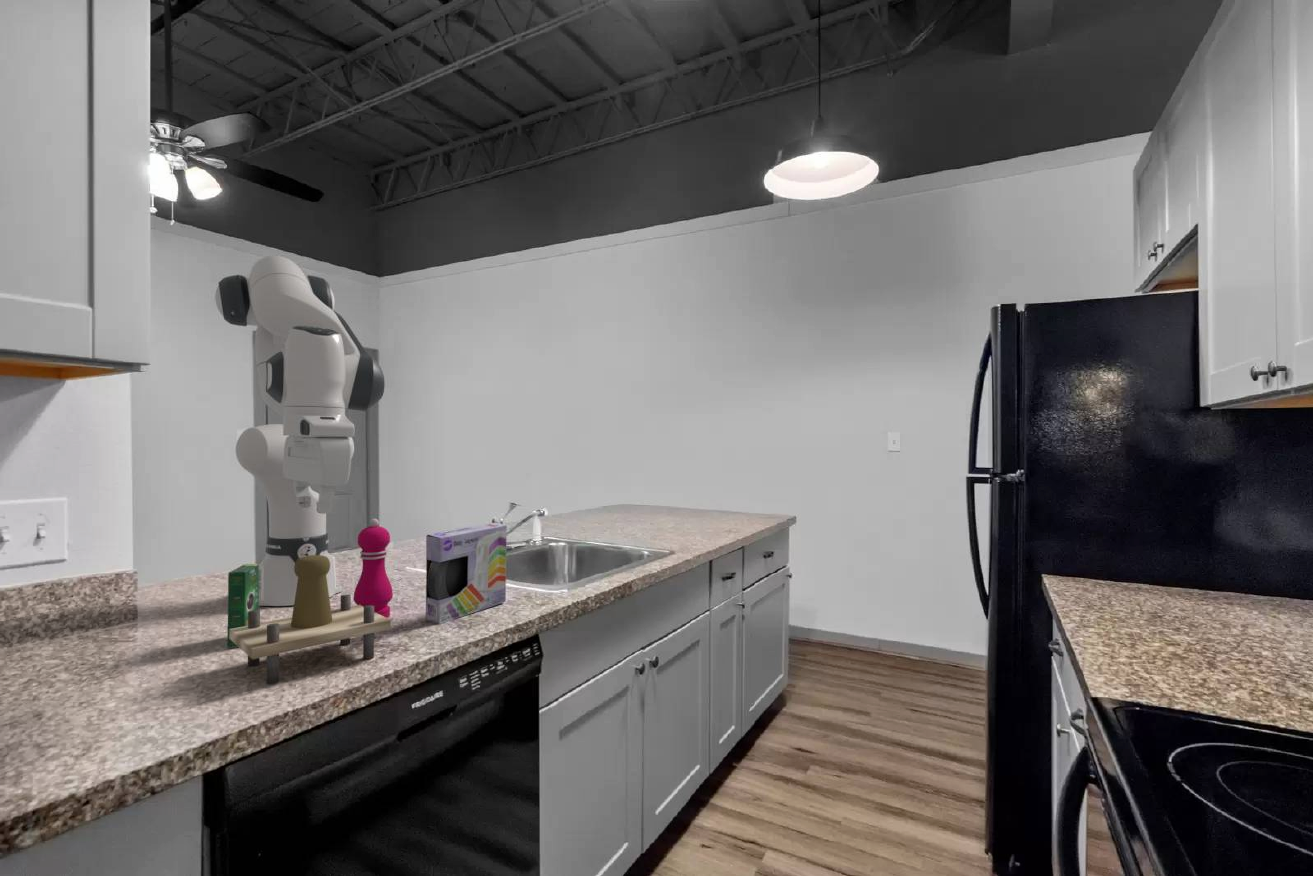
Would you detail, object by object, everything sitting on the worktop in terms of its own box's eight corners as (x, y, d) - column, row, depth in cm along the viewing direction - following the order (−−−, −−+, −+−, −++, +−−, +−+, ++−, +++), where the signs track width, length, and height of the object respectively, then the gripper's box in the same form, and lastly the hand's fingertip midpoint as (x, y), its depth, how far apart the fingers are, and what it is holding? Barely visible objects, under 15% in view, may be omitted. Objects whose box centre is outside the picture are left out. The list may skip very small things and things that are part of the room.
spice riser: (229, 666, 98) (229, 613, 98) (359, 637, 113) (359, 591, 113) (252, 690, 89) (252, 631, 89) (390, 655, 104) (390, 605, 104)
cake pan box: (435, 626, 120) (436, 535, 120) (419, 622, 123) (420, 533, 123) (508, 604, 136) (508, 524, 136) (491, 600, 139) (492, 522, 139)
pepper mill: (377, 623, 121) (378, 521, 121) (345, 621, 123) (346, 520, 122) (399, 613, 128) (400, 517, 128) (369, 611, 130) (370, 515, 129)
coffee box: (241, 634, 114) (242, 563, 114) (259, 632, 115) (260, 562, 115) (225, 648, 106) (226, 572, 106) (244, 647, 107) (245, 571, 107)
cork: (302, 617, 105) (303, 552, 105) (339, 617, 105) (339, 552, 105) (282, 628, 99) (283, 559, 99) (321, 628, 99) (321, 559, 99)
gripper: (273, 424, 106) (272, 505, 106) (315, 425, 92) (314, 518, 92) (313, 425, 110) (312, 503, 110) (359, 426, 96) (358, 514, 96)
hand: (313, 510), depth 101 cm, fingers open, 8 cm apart
